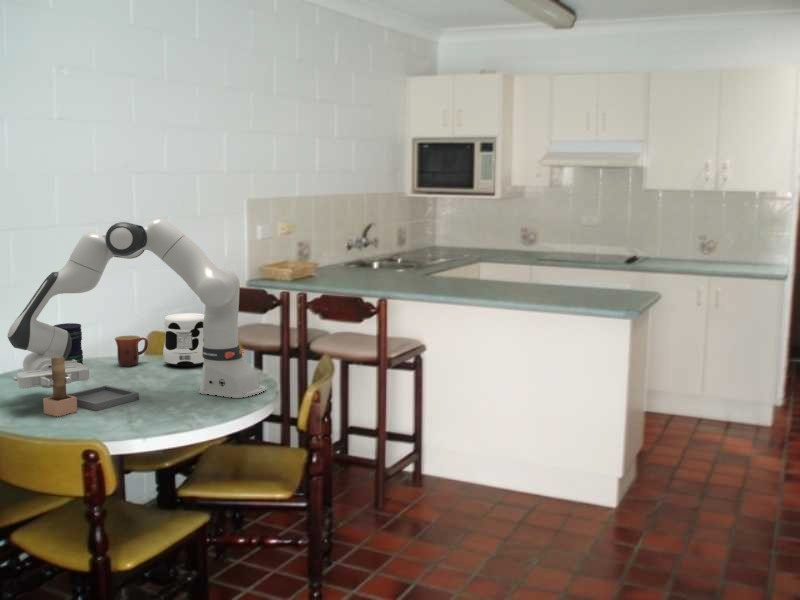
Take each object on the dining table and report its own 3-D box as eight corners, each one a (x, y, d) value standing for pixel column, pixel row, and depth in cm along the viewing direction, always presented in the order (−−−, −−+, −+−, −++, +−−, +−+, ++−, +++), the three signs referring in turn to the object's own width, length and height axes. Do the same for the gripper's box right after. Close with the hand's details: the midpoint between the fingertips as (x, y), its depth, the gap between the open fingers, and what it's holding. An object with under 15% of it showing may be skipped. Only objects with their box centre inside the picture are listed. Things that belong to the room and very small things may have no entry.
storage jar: (60, 370, 307) (58, 329, 304) (50, 365, 314) (48, 325, 311) (87, 366, 313) (85, 325, 311) (77, 361, 320) (75, 322, 318)
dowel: (69, 410, 254) (67, 357, 251) (58, 413, 251) (56, 359, 248) (62, 408, 256) (59, 356, 253) (51, 411, 253) (48, 358, 250)
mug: (121, 368, 309) (120, 340, 308) (112, 364, 316) (111, 337, 314) (153, 364, 317) (152, 337, 315) (143, 360, 324) (142, 333, 322)
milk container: (194, 357, 330) (193, 310, 327) (220, 364, 318) (219, 316, 315) (154, 364, 317) (152, 316, 315) (179, 371, 305) (178, 322, 303)
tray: (139, 399, 268) (138, 392, 268) (95, 410, 255) (95, 403, 255) (106, 391, 277) (105, 385, 277) (62, 402, 264) (62, 395, 264)
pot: (77, 411, 254) (76, 397, 254) (57, 416, 249) (56, 401, 248) (63, 408, 258) (62, 393, 257) (43, 413, 252) (43, 398, 252)
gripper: (10, 367, 256) (21, 376, 245) (80, 358, 268) (94, 366, 257) (11, 387, 257) (22, 397, 246) (81, 378, 269) (95, 387, 258)
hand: (59, 381), depth 251 cm, fingers closed on dowel, 4 cm apart
